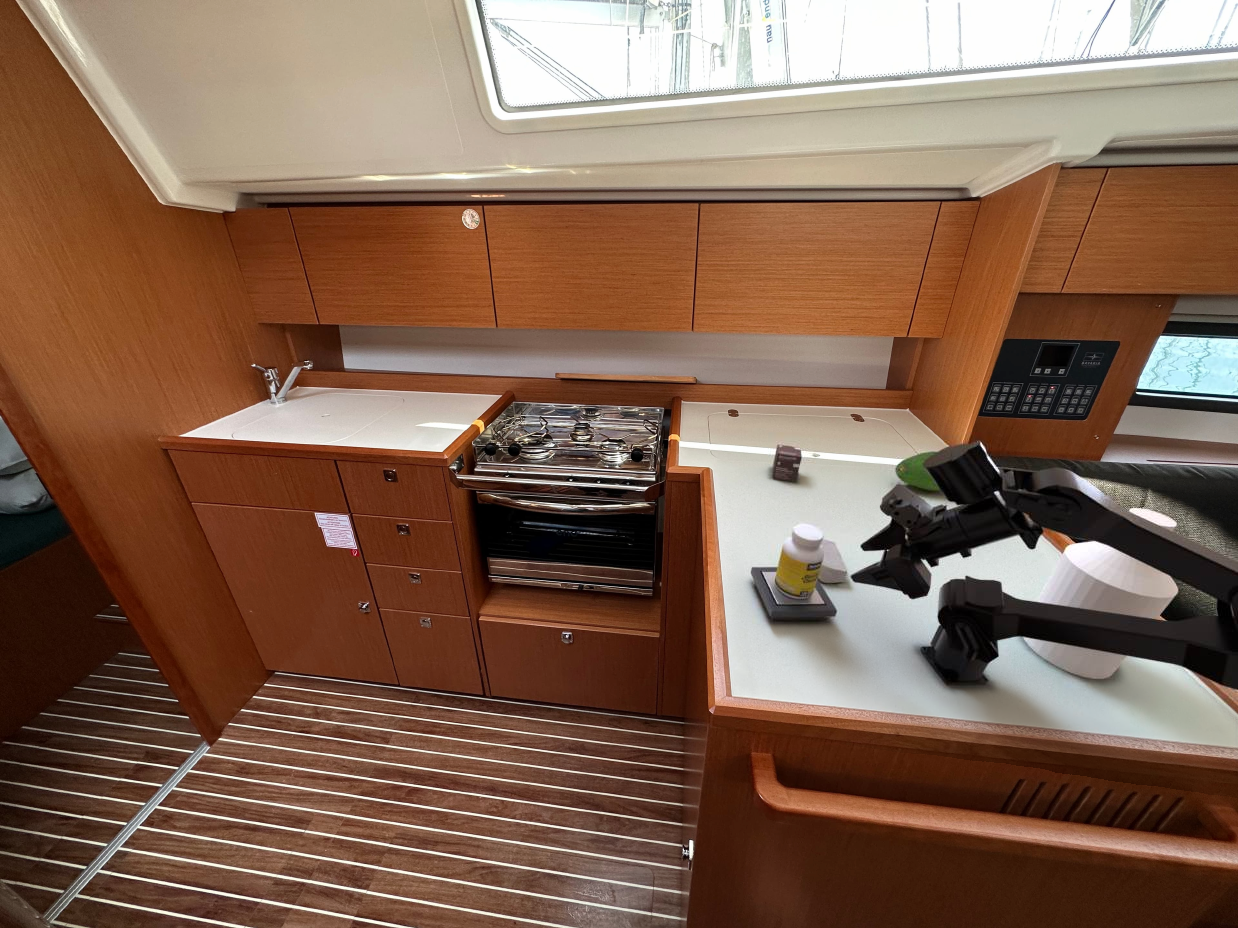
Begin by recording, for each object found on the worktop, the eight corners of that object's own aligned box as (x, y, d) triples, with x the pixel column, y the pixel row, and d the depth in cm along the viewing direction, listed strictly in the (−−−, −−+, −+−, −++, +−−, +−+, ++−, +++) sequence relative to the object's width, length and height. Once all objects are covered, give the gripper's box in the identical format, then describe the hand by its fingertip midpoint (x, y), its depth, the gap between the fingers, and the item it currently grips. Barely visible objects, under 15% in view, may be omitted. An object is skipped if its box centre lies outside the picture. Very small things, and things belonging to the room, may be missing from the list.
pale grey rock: (832, 595, 89) (851, 581, 84) (801, 585, 88) (819, 570, 84) (827, 552, 96) (844, 536, 91) (798, 542, 95) (814, 526, 91)
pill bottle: (790, 604, 77) (806, 547, 71) (766, 579, 82) (778, 524, 77) (821, 595, 79) (839, 539, 74) (795, 571, 84) (810, 517, 79)
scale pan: (823, 609, 78) (825, 603, 77) (776, 610, 77) (777, 603, 77) (804, 577, 85) (805, 571, 84) (760, 577, 85) (762, 571, 84)
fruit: (899, 495, 117) (912, 459, 112) (883, 476, 125) (894, 442, 121) (962, 500, 116) (978, 464, 111) (942, 480, 124) (955, 446, 120)
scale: (832, 624, 78) (837, 610, 76) (768, 624, 77) (771, 611, 76) (806, 579, 87) (810, 566, 86) (748, 579, 87) (751, 566, 85)
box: (771, 478, 122) (777, 453, 119) (771, 468, 127) (777, 443, 124) (796, 482, 120) (802, 457, 117) (795, 472, 126) (801, 447, 122)
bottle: (1003, 632, 77) (1076, 503, 66) (1044, 612, 82) (1119, 488, 70) (1090, 691, 68) (1193, 552, 56) (1132, 665, 72) (1235, 531, 61)
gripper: (934, 453, 70) (838, 495, 80) (927, 507, 56) (812, 549, 66) (978, 515, 70) (876, 549, 80) (983, 584, 56) (858, 615, 66)
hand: (857, 562), depth 73 cm, fingers open, 9 cm apart
